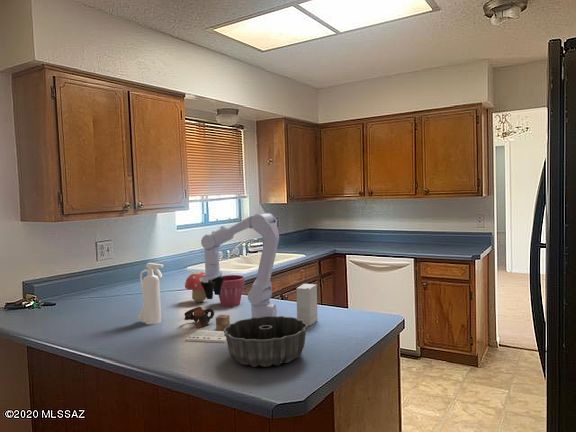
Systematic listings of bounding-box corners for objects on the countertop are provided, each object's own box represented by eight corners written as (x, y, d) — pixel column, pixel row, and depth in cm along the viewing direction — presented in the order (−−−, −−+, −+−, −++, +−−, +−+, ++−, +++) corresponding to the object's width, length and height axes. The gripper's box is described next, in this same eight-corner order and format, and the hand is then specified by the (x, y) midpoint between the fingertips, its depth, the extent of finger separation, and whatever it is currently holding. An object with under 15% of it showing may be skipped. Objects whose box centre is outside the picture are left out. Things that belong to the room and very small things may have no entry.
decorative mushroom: (180, 305, 215) (178, 274, 215) (194, 298, 228) (193, 269, 227) (204, 306, 211) (203, 274, 210) (218, 299, 224) (216, 269, 223)
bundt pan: (207, 359, 141) (206, 328, 141) (269, 338, 160) (268, 311, 159) (263, 382, 122) (261, 346, 122) (326, 355, 141) (324, 324, 140)
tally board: (234, 333, 167) (234, 331, 167) (224, 342, 157) (224, 340, 157) (197, 332, 170) (197, 329, 170) (185, 340, 161) (185, 338, 161)
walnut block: (229, 327, 175) (229, 315, 175) (225, 330, 171) (225, 317, 171) (220, 327, 176) (219, 314, 176) (216, 330, 172) (215, 317, 172)
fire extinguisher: (143, 318, 192) (141, 261, 190) (168, 320, 189) (166, 262, 187) (133, 323, 186) (131, 263, 184) (159, 326, 182) (156, 265, 180)
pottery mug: (189, 331, 174) (182, 311, 176) (189, 335, 182) (181, 317, 184) (218, 319, 178) (211, 300, 180) (216, 324, 186) (209, 305, 189)
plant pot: (237, 308, 204) (236, 280, 204) (210, 307, 209) (208, 280, 208) (250, 301, 218) (249, 275, 217) (224, 300, 222) (223, 274, 222)
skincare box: (304, 319, 183) (303, 283, 182) (318, 320, 180) (317, 283, 179) (296, 325, 175) (295, 287, 174) (311, 326, 172) (309, 288, 172)
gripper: (210, 261, 190) (212, 292, 191) (195, 266, 176) (196, 300, 177) (226, 261, 189) (227, 293, 189) (211, 266, 175) (213, 301, 175)
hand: (213, 296), depth 183 cm, fingers open, 7 cm apart
